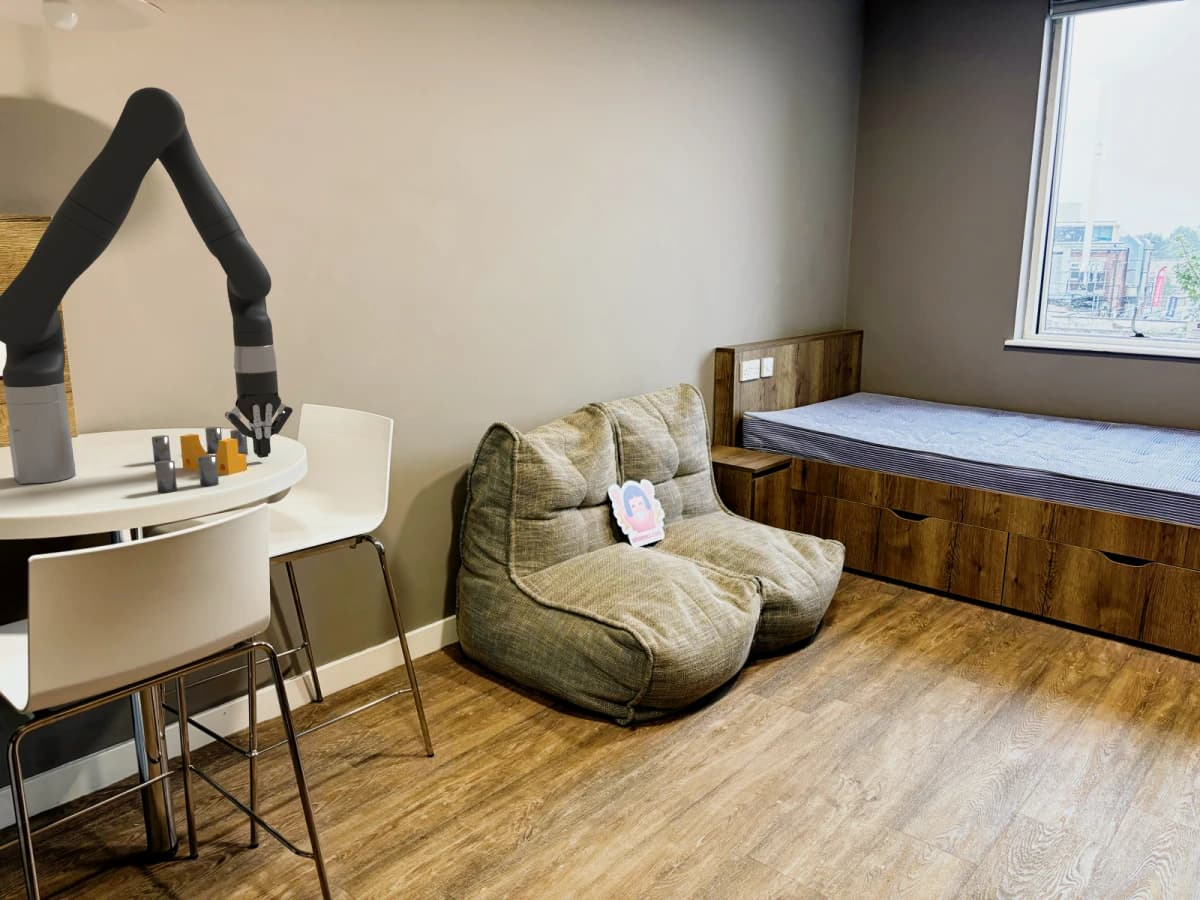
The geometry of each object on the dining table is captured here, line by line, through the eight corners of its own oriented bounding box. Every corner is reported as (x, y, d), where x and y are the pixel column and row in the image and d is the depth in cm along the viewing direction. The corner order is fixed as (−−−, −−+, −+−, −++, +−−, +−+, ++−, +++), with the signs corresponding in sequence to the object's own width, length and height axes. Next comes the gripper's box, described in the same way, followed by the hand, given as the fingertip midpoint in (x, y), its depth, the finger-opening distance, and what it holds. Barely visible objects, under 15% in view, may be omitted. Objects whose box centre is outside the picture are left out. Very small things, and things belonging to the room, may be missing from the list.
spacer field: (160, 493, 153) (157, 465, 152) (114, 463, 176) (112, 438, 175) (293, 473, 168) (291, 447, 167) (234, 448, 191) (232, 424, 190)
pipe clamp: (247, 471, 170) (244, 437, 169) (229, 475, 167) (226, 441, 165) (201, 465, 176) (198, 432, 174) (183, 469, 172) (179, 436, 170)
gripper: (227, 373, 167) (235, 464, 170) (297, 367, 175) (303, 455, 178) (213, 369, 172) (221, 458, 176) (282, 364, 181) (288, 449, 184)
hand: (262, 456), depth 177 cm, fingers closed
